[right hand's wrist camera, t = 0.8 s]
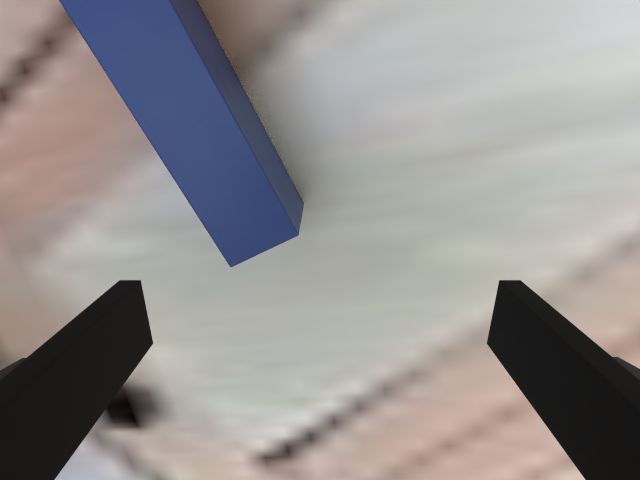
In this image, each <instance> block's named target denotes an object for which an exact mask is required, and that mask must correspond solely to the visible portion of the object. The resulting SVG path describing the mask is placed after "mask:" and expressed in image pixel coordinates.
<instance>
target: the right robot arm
mask: <svg viewBox="0 0 640 480" xmlns="http://www.w3.org/2000/svg"><path fill="white" fill-rule="evenodd" d="M152 344H153V341H152V336H151V331H150V326H149V321H148V315H147V310H146V305H145V300H144V295H143V290H142V285H141V280H120V281H118V282H117V283H116V284H115V285H114V286H112V287H111V288H110V289H109V290H108V291H106V292H105V293H104V294H103V295H102V296H100V297H99V298H98V299H97V300H96V301H94V302H93V303H92V304H91V305H90V306H88V307H87V308H86V309H85V310H84V311H82V312H81V313H80V314H79V315H78V316H76V317H75V318H74V319H73V320H72V321H70V322H69V323H68V324H67V325H66V326H64V327H63V328H62V329H61V330H60V331H59V332H57V333H56V334H55V335H54V336H53V337H51V338H50V339H49V340H48V341H47V342H45V343H44V344H43V345H42V346H41V347H39V348H38V349H37V350H36V351H35V352H33V353H32V354H31V355H30V356H29V357H27V358H22V359H20V360H19V361H17V362H15V363H13V364H11V365H9V366H8V367H6V368H4V369H2V370H0V480H54V479H55V478H56V477H57V475H58V474H59V473H60V471H61V470H62V468H63V467H64V466H65V464H66V463H67V462H68V460H69V459H70V457H71V456H72V455H73V453H74V452H75V450H76V449H77V448H78V446H79V445H80V444H81V442H82V441H83V439H84V438H85V437H86V435H87V434H88V433H89V431H90V430H91V428H92V427H93V426H94V424H95V423H96V422H97V420H98V419H99V417H100V416H101V415H102V413H103V412H104V410H105V409H106V408H107V406H108V405H109V404H110V402H111V401H112V399H113V398H114V397H115V395H116V394H117V393H118V391H119V390H120V388H121V387H122V386H123V384H124V383H125V381H126V380H127V379H128V377H129V376H130V375H131V373H132V372H133V370H134V369H135V368H136V366H137V365H138V364H139V362H140V361H141V359H142V358H143V357H144V355H145V354H146V353H147V351H148V350H149V348H150V347H151V346H152ZM487 344H488V346H489V347H490V348H491V350H492V351H493V353H494V354H495V355H496V357H497V358H498V359H499V361H500V362H501V364H502V365H503V366H504V368H505V369H506V370H507V372H508V373H509V375H510V376H511V377H512V379H513V380H514V381H515V383H516V384H517V386H518V387H519V388H520V390H521V391H522V393H523V394H524V395H525V397H526V398H527V399H528V401H529V402H530V404H531V405H532V406H533V408H534V409H535V410H536V412H537V413H538V415H539V416H540V417H541V419H542V420H543V422H544V423H545V424H546V426H547V427H548V428H549V430H550V431H551V433H552V434H553V435H554V437H555V438H556V439H557V441H558V442H559V444H560V445H561V446H562V448H563V449H564V450H565V452H566V453H567V455H568V456H569V457H570V459H571V460H572V462H573V463H574V464H575V466H576V467H577V468H578V470H579V471H580V473H581V474H582V475H583V477H584V478H585V479H586V480H640V369H639V368H637V367H635V366H633V365H631V364H630V363H628V362H626V361H624V360H622V359H620V358H619V357H611V356H610V355H609V354H608V353H607V352H605V351H604V350H603V349H602V348H601V347H599V346H598V345H597V344H596V343H595V342H593V341H592V340H591V339H590V338H589V337H587V336H586V335H585V334H584V333H583V332H581V331H580V330H579V329H578V328H577V327H576V326H574V325H573V324H572V323H571V322H570V321H568V320H567V319H566V318H565V317H564V316H562V315H561V314H560V313H559V312H558V311H556V310H555V309H554V308H553V307H552V306H550V305H549V304H548V303H547V302H546V301H544V300H543V299H542V298H541V297H540V296H538V295H537V294H536V293H535V292H534V291H532V290H531V289H530V288H529V287H528V286H526V285H525V284H524V283H523V282H522V281H520V280H499V285H498V290H497V295H496V300H495V305H494V310H493V315H492V320H491V326H490V331H489V336H488V341H487Z"/></svg>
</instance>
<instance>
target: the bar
mask: <svg viewBox="0 0 640 480" xmlns="http://www.w3.org/2000/svg"><path fill="white" fill-rule="evenodd" d="M59 1H60V2H61V4H62V5H63V7H64V9H65V10H66V12H67V13H68V15H69V16H70V18H71V19H72V21H73V23H74V24H75V26H76V27H77V29H78V30H79V32H80V33H81V35H82V37H83V38H84V40H85V41H86V43H87V44H88V46H89V47H90V49H91V51H92V52H93V54H94V55H95V57H96V58H97V60H98V61H99V63H100V65H101V66H102V68H103V69H104V71H105V72H106V74H107V75H108V77H109V79H110V80H111V82H112V83H113V85H114V86H115V88H116V90H117V91H118V93H119V94H120V96H121V97H122V99H123V100H124V102H125V104H126V105H127V107H128V108H129V110H130V111H131V113H132V114H133V116H134V118H135V119H136V121H137V122H138V124H139V125H140V127H141V128H142V130H143V132H144V133H145V135H146V136H147V138H148V139H149V141H150V142H151V144H152V146H153V147H154V149H155V150H156V152H157V153H158V155H159V156H160V158H161V160H162V161H163V163H164V164H165V166H166V167H167V169H168V171H169V172H170V174H171V175H172V177H173V178H174V180H175V181H176V183H177V185H178V186H179V188H180V189H181V191H182V192H183V194H184V195H185V197H186V199H187V200H188V202H189V203H190V205H191V206H192V208H193V209H194V211H195V213H196V214H197V216H198V217H199V219H200V220H201V222H202V223H203V225H204V227H205V228H206V230H207V231H208V233H209V234H210V236H211V237H212V239H213V241H214V242H215V244H216V245H217V247H218V248H219V250H220V252H221V253H222V255H223V256H224V258H225V259H226V261H227V262H228V264H229V266H230V267H233V266H235V265H237V264H239V263H241V262H243V261H245V260H247V259H250V258H252V257H254V256H256V255H258V254H260V253H262V252H264V251H266V250H268V249H271V248H273V247H275V246H277V245H279V244H281V243H283V242H285V241H287V240H289V239H292V238H294V237H296V236H298V235H299V229H300V223H301V217H302V211H303V205H304V203H303V201H302V199H301V197H300V195H299V193H298V191H297V189H296V188H295V186H294V184H293V182H292V180H291V178H290V176H289V174H288V172H287V170H286V169H285V167H284V165H283V163H282V161H281V159H280V157H279V155H278V153H277V151H276V150H275V148H274V146H273V144H272V142H271V140H270V138H269V136H268V134H267V132H266V131H265V129H264V127H263V125H262V123H261V121H260V119H259V117H258V115H257V113H256V112H255V110H254V108H253V106H252V104H251V102H250V100H249V98H248V96H247V94H246V93H245V91H244V89H243V87H242V85H241V83H240V81H239V79H238V77H237V75H236V74H235V72H234V70H233V68H232V66H231V64H230V62H229V60H228V58H227V56H226V55H225V53H224V51H223V49H222V47H221V45H220V43H219V41H218V39H217V37H216V36H215V34H214V32H213V30H212V28H211V26H210V24H209V22H208V20H207V18H206V17H205V15H204V13H203V11H202V9H201V7H200V5H199V3H198V1H197V0H59Z"/></svg>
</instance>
